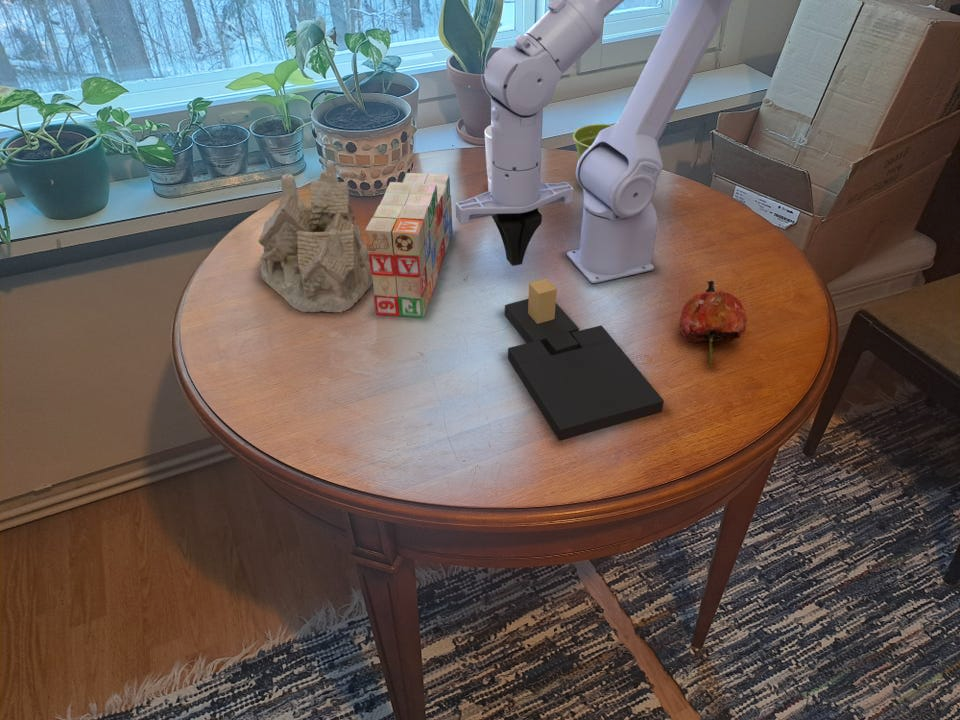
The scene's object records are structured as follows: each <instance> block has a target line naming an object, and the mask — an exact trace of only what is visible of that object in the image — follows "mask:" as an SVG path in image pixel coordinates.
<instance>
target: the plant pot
mask: <svg viewBox="0 0 960 720" xmlns="http://www.w3.org/2000/svg"><path fill="white" fill-rule="evenodd" d="M612 125H613V124H607V123H606V124H605V123H593V124H588V125H585V126H581V127H578V128H577V129H575V131H574V132H573V134H572V139H573V141H574V142H575V148H576V153H577V162H578V161H579V159H580V157H581V156H582V154H583V153H584V152H585V151H586V150H587V149H588V148H589V147H590V146H591V145H592V144H593V142H594V141H595V139H596V137H597V135H598V133H599V132H600V131H601V130H604V129H606V128H608V127H610V126H612ZM622 155H623V154H622ZM624 156H625V155H624ZM625 157H626V156H625ZM579 186H580V187H581V189H582V191H583V187H582V186H581V185H580V184H579Z"/></svg>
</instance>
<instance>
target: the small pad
mask: <svg viewBox="0 0 960 720" xmlns="http://www.w3.org/2000/svg"><path fill="white" fill-rule="evenodd" d="M557 292H558V289H557V287H556V286H555V285H554V284H553V283H552V282H551V281H550V280H549V279H548V278H544V279H541V280H537V281H532V282H530V283H528V298H526V299H525V298H524V299H522V300H518V301H514V302H511V303H507V304H504V316H505V317H506V319H507V320H508V321H509V322H510V324H511V325H512V326H513V327H514V329H515V330H516V331H517V333H518V334H519V335H520V336H521V338H522V339H523V340H524V342H525V343H530V342H535V341H539V340H540V341H541V343H542V344H543V345H544V347H545V348H546V350H547V351H548V353H549V354H550V356H552V355H556V354H560V353H564V352H568V351H572V350H576V349H578V346H579V343H578V342H577V341H576V340H575V339H574V338H573V337H572V335H571V333H572V332H576V331H580V327H579V326H578V325H577V324H576V322H574V321H573V320H572V318H571V317H570V316H568V314H567V313H566V312H565V310H563V308H561V306H560V305H559V304H558V303H557Z"/></svg>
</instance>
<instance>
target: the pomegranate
mask: <svg viewBox="0 0 960 720" xmlns="http://www.w3.org/2000/svg"><path fill="white" fill-rule="evenodd" d="M706 283H707V284H708V288H707V289H706V290H705V291H702V292H699V293H696V294H694V295H692V296H691V297H690V298H689V299H688V300H686V302H685V304H684V305H683V307H682V309H681V314H680V317H679V323H678V325H679V328H680V331H681V334H682V335H683V337H684V338H685V339H686V340H687V341H688V342H691V343H698V342H705V341H709V343H708V348H709V366H711V364H712V356H713V352H714V349H713V343H729V342H731V341H733V340H736V339H739V338H741V337H743V335H744V334H745V332H746V331H747V326H748V316H747V311H746V308H745V307H744V305H743V303H742V302H741V300H739V298H738V297H736V296H735V295H733V294H731V293H729V292H725V291H723V290H715V286H714V285H715V282H714V280H710V281H706Z"/></svg>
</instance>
